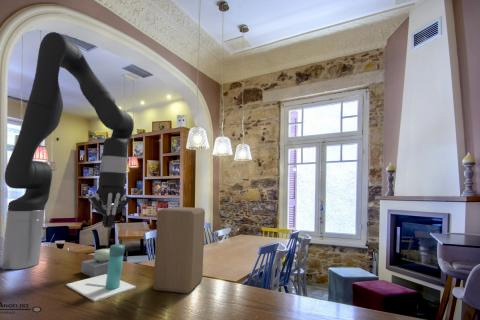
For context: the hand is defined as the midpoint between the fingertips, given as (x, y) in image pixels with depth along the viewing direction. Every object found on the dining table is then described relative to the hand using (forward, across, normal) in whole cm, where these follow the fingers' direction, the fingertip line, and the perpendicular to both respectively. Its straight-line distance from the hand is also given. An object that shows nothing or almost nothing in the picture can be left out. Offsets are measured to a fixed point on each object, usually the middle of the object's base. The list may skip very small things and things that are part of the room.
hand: (107, 227), depth 79 cm
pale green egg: (+12, +1, 0) cm, 12 cm away
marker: (+12, +6, +16) cm, 21 cm away
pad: (+13, +7, +12) cm, 19 cm away
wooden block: (+12, -6, +27) cm, 30 cm away
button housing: (+13, +1, 0) cm, 13 cm away
